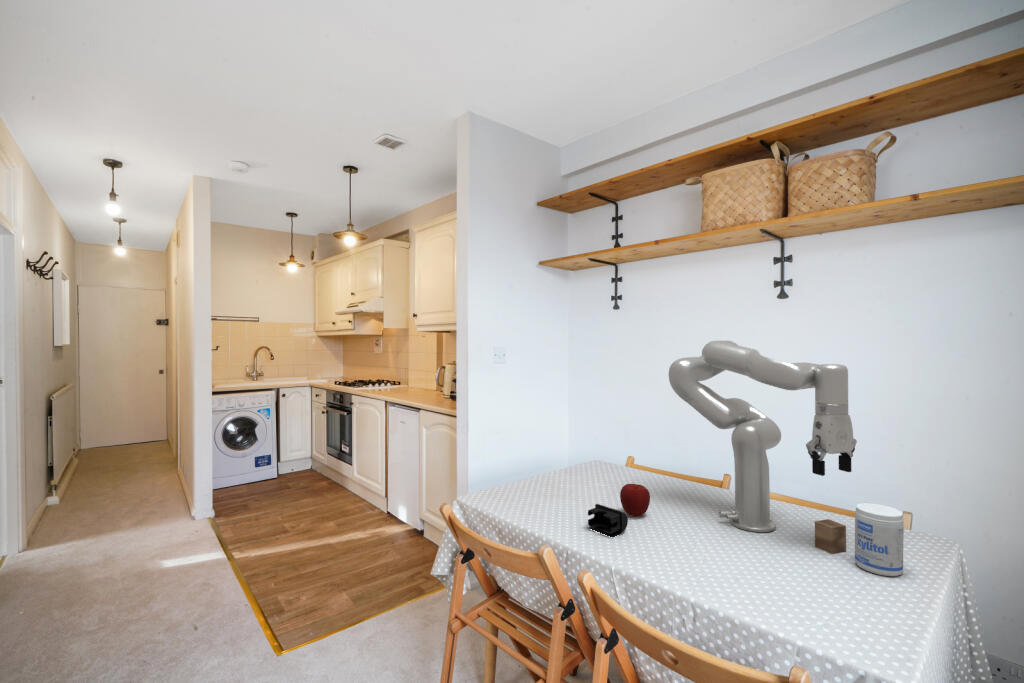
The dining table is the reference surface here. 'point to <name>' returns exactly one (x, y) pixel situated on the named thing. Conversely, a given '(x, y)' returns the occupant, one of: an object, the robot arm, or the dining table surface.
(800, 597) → the dining table surface
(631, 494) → the apple
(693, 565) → the dining table surface
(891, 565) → the supplement tub
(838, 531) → the walnut block
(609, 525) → the end cap
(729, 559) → the dining table surface
